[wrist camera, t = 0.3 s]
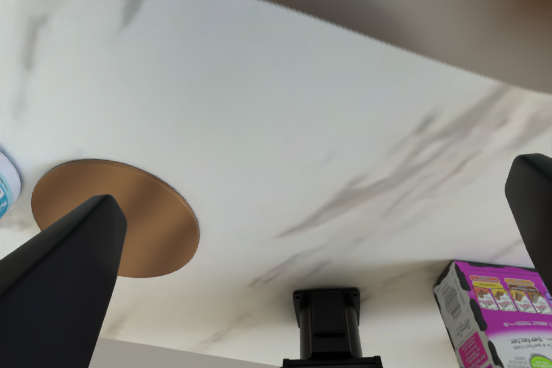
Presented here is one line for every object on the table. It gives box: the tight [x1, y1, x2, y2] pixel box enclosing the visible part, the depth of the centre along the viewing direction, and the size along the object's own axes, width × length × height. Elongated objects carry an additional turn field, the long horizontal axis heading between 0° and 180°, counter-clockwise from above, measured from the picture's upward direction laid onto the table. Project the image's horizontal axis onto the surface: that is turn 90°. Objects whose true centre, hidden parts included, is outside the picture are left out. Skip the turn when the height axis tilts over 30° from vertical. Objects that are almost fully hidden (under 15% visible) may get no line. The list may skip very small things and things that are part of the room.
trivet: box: [31, 160, 200, 278], centre depth 30 cm, size 14×14×1 cm
